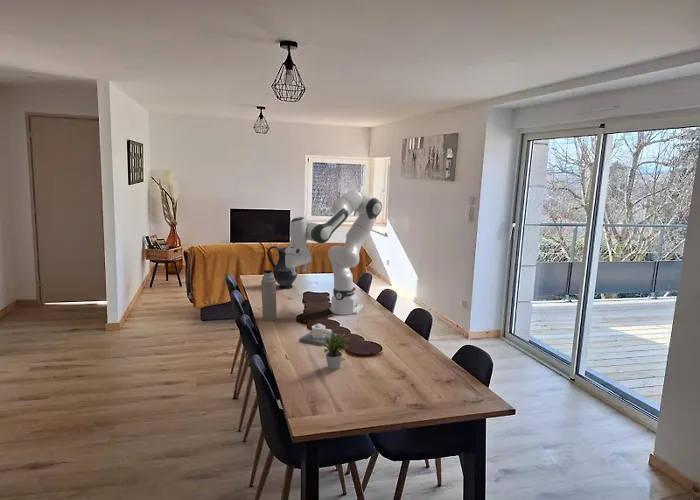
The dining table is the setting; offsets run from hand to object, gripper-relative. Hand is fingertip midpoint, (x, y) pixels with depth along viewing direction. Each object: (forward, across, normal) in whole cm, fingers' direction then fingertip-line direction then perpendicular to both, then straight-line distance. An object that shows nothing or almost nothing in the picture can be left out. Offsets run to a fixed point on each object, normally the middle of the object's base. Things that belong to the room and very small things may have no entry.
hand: (299, 273), depth 260 cm
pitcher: (+29, -63, -55) cm, 89 cm away
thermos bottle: (+29, -2, -22) cm, 37 cm away
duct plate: (+29, +14, +20) cm, 38 cm away
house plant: (+29, +42, +44) cm, 67 cm away
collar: (+28, +14, +22) cm, 38 cm away
